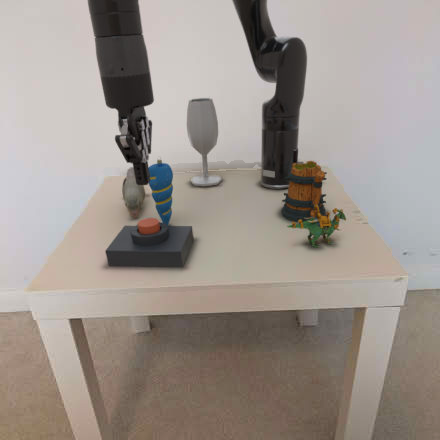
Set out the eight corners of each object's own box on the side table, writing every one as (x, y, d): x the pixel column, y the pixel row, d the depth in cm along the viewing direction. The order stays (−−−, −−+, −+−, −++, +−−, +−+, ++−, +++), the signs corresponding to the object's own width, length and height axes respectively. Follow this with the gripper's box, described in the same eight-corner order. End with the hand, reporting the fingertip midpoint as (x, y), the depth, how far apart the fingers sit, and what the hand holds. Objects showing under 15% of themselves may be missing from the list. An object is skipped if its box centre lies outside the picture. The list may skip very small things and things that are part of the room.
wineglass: (221, 186, 107) (217, 101, 96) (189, 188, 108) (181, 103, 96) (222, 176, 115) (218, 96, 103) (191, 178, 115) (184, 98, 103)
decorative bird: (123, 220, 91) (117, 188, 87) (126, 196, 105) (120, 167, 101) (146, 217, 92) (141, 185, 88) (146, 194, 105) (142, 165, 101)
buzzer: (193, 240, 81) (191, 217, 78) (182, 267, 72) (179, 242, 69) (127, 239, 83) (122, 217, 80) (108, 266, 73) (102, 241, 71)
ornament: (152, 225, 88) (141, 155, 80) (174, 220, 90) (166, 151, 82) (159, 233, 84) (148, 161, 76) (182, 228, 86) (174, 157, 78)
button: (162, 226, 76) (161, 217, 75) (157, 235, 73) (155, 226, 72) (142, 226, 76) (140, 217, 75) (136, 235, 73) (134, 226, 72)
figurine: (347, 243, 76) (352, 202, 72) (288, 253, 74) (290, 212, 69) (339, 236, 79) (344, 196, 74) (282, 246, 76) (284, 205, 72)
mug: (274, 208, 93) (275, 157, 86) (315, 203, 94) (319, 152, 88) (294, 230, 82) (297, 175, 75) (340, 224, 83) (347, 169, 77)
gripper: (135, 74, 54) (154, 197, 64) (159, 66, 65) (172, 171, 75) (84, 77, 55) (110, 197, 65) (115, 68, 66) (134, 172, 76)
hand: (143, 183), depth 70 cm, fingers closed
